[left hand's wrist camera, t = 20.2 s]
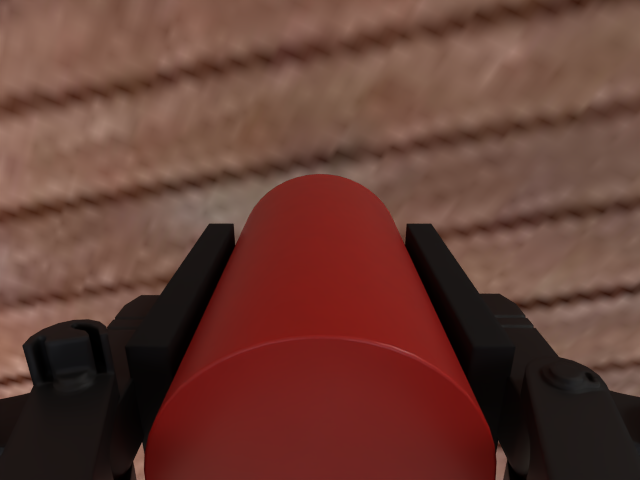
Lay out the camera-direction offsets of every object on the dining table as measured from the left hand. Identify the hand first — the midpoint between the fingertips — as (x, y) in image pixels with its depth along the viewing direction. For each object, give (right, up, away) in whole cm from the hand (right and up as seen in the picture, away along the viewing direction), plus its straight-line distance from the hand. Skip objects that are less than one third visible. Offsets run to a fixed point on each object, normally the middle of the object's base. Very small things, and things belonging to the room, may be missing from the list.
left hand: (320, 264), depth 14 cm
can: (0, 0, +1) cm, 1 cm away
